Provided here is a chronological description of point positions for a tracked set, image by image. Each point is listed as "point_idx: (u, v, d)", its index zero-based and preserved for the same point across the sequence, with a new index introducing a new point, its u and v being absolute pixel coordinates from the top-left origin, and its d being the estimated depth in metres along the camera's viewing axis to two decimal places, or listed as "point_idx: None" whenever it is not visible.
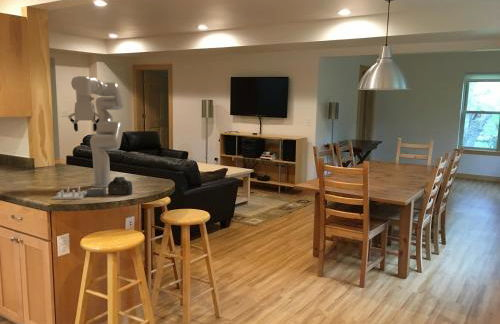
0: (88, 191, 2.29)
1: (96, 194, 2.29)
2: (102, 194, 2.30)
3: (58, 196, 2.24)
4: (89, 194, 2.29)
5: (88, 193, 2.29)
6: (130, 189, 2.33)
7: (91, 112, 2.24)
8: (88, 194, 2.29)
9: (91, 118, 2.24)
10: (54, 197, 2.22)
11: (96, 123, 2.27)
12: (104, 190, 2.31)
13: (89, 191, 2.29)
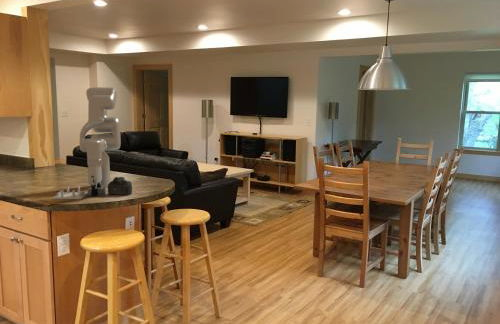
0: (89, 191, 2.28)
1: None
2: (103, 193, 2.30)
3: (58, 196, 2.24)
4: (90, 194, 2.29)
5: (89, 193, 2.28)
6: (130, 189, 2.33)
7: (101, 173, 2.34)
8: (89, 194, 2.28)
9: (101, 179, 2.34)
10: (54, 197, 2.22)
11: None
12: (105, 189, 2.32)
13: (90, 191, 2.28)
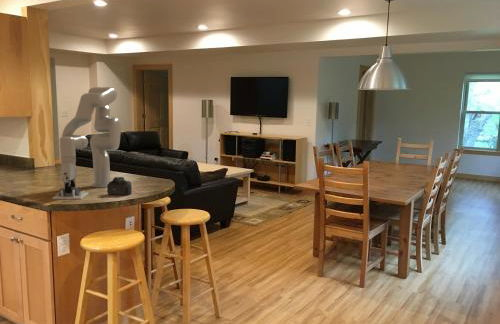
0: None
1: (69, 193, 2.25)
2: (76, 193, 2.26)
3: (58, 196, 2.24)
4: None
5: None
6: (129, 189, 2.32)
7: None
8: None
9: None
10: (54, 197, 2.22)
11: None
12: (78, 189, 2.27)
13: None
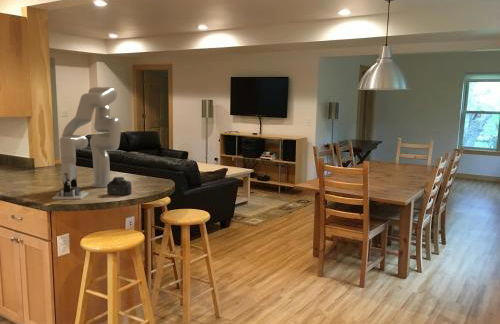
0: None
1: (69, 193, 2.25)
2: (76, 193, 2.26)
3: (58, 196, 2.24)
4: None
5: None
6: (129, 189, 2.32)
7: None
8: None
9: (76, 176, 2.31)
10: (54, 197, 2.22)
11: None
12: (78, 189, 2.27)
13: None
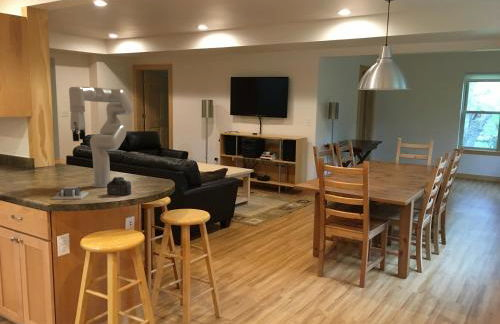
0: None
1: (69, 193, 2.25)
2: (76, 193, 2.26)
3: (58, 196, 2.24)
4: None
5: None
6: (129, 189, 2.32)
7: (84, 121, 2.34)
8: None
9: (84, 127, 2.35)
10: (54, 197, 2.22)
11: None
12: (78, 189, 2.27)
13: None
